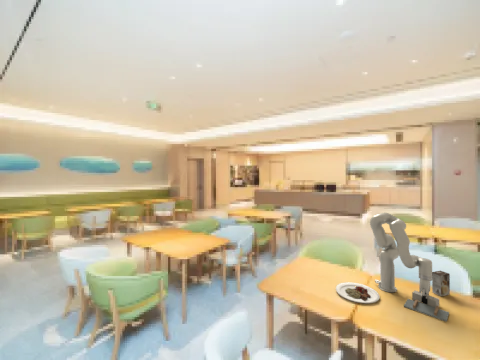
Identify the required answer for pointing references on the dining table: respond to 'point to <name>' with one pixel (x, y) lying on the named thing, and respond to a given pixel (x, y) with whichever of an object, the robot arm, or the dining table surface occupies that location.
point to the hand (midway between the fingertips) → (425, 301)
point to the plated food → (357, 292)
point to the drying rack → (427, 309)
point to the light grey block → (431, 300)
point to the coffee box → (441, 283)
